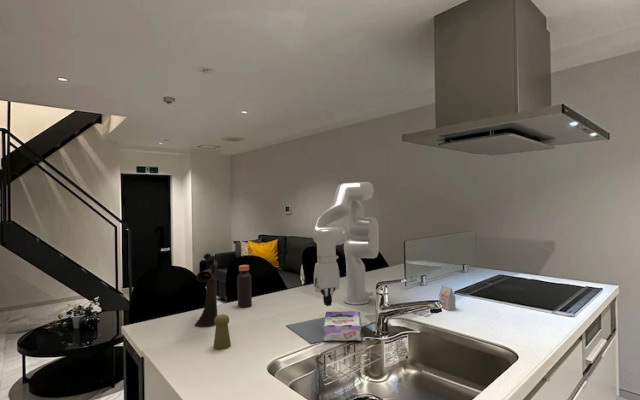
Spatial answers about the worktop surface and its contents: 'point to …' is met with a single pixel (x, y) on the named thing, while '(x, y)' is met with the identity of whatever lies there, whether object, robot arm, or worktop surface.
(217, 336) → the olive game pawn
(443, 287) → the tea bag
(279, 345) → the worktop surface
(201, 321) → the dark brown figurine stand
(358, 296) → the robot arm
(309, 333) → the mat
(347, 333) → the candy box
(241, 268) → the bottle
